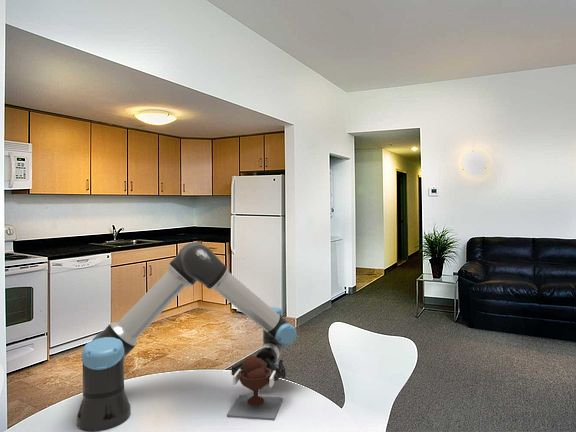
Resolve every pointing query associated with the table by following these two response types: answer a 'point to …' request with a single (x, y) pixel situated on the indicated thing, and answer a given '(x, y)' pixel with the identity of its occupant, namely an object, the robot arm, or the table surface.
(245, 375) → the ice cream bowl
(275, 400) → the slate mat
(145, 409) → the table surface
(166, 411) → the table surface
